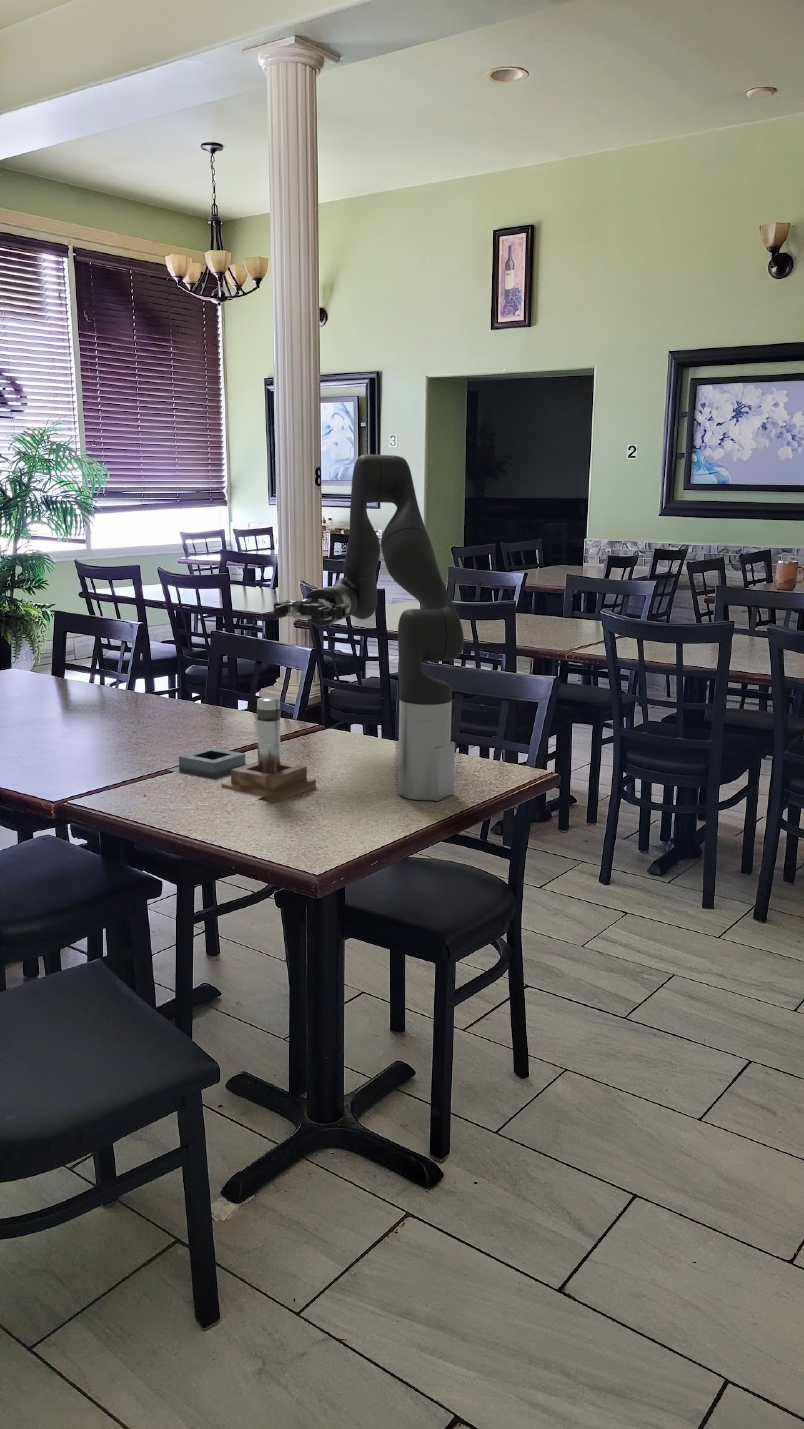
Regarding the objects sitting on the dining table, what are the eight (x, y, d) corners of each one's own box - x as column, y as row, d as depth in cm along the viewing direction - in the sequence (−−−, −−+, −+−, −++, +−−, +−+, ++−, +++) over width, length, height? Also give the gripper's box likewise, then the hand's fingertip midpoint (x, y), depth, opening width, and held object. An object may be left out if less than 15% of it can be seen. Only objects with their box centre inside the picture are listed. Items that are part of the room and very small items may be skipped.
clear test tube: (285, 780, 188) (284, 699, 185) (271, 785, 185) (270, 702, 182) (267, 777, 190) (266, 696, 187) (253, 782, 187) (252, 700, 184)
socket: (257, 770, 200) (257, 753, 199) (215, 784, 190) (215, 766, 189) (209, 761, 206) (209, 744, 205) (166, 775, 196) (166, 757, 195)
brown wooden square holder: (315, 787, 190) (315, 766, 189) (275, 803, 179) (274, 780, 179) (264, 777, 196) (263, 756, 195) (221, 792, 186) (221, 770, 185)
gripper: (295, 585, 214) (263, 592, 199) (360, 588, 210) (333, 595, 195) (295, 622, 216) (263, 631, 200) (360, 625, 212) (333, 635, 197)
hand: (298, 613), depth 198 cm, fingers open, 8 cm apart
